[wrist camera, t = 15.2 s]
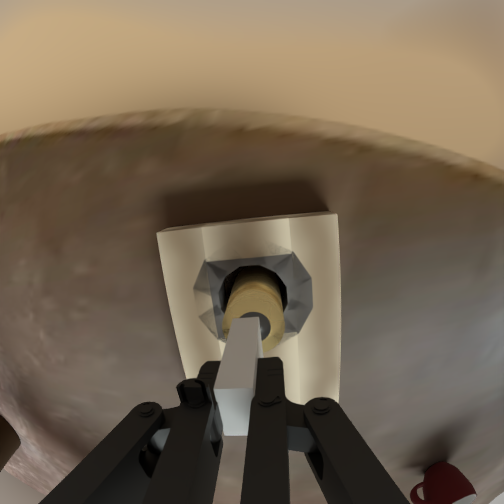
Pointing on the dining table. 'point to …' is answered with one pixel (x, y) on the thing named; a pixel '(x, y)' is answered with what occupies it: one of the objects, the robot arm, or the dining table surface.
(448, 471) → the mug
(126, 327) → the dining table surface
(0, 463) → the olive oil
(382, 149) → the dining table surface
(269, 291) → the cylinder with metal cap
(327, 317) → the jig
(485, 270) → the dining table surface
